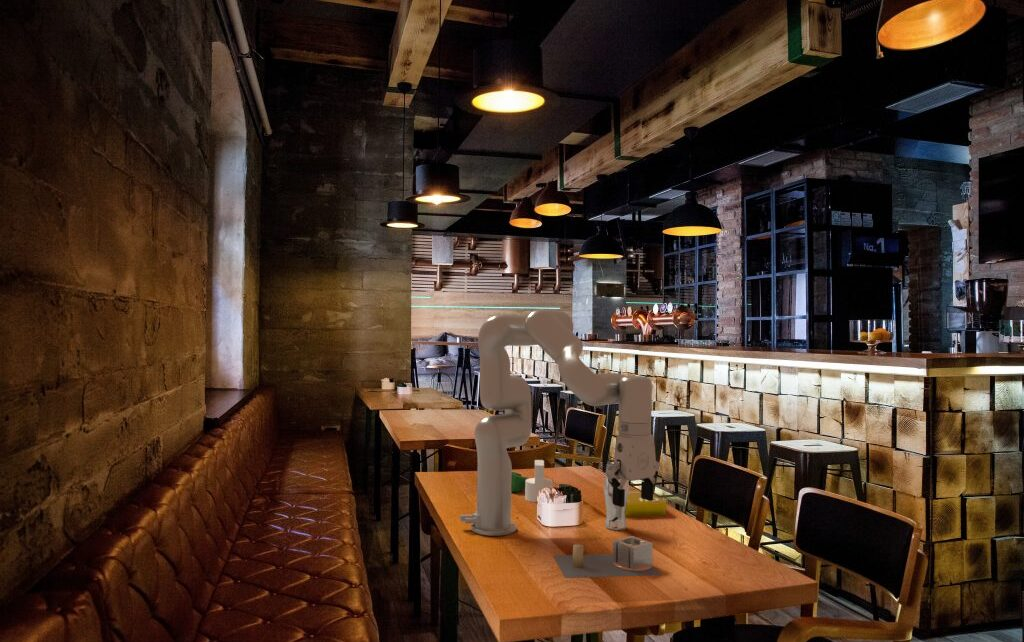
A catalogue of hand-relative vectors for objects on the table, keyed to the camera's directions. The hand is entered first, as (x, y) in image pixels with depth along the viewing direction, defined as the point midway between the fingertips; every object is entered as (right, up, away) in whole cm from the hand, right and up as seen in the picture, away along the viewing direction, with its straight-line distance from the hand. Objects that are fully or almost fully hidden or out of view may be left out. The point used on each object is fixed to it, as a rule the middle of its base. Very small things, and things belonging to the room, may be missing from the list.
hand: (632, 502), depth 150 cm
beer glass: (+1, -17, +33) cm, 37 cm away
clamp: (-27, -17, +75) cm, 82 cm away
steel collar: (0, -14, 0) cm, 14 cm away
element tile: (+11, -18, +52) cm, 56 cm away
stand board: (-7, -16, -1) cm, 17 cm away
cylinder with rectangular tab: (-19, -17, +63) cm, 68 cm away
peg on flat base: (0, -14, 0) cm, 14 cm away
